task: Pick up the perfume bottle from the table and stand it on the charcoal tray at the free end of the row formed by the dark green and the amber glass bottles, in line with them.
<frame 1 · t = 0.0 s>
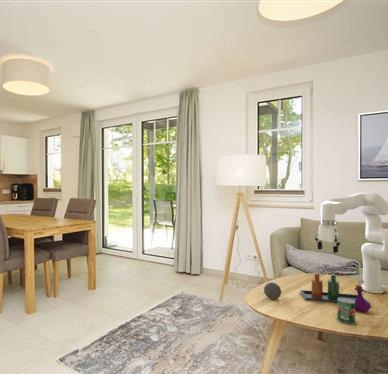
hand: (327, 250, 184), 31 cm above the table, tool pointing down, fingers open, 9 cm apart
tray: (333, 299, 188), on the table
decorative ball: (272, 298, 190), on the table
perfume bottle: (360, 311, 171), on the table
canned tomato: (346, 321, 160), on the table
amber bottle: (316, 297, 190), point 1 cm above the table, touching tray
green bottle: (333, 298, 188), point 1 cm above the table, touching tray
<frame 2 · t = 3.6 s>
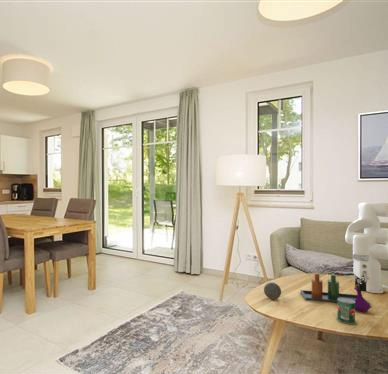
hand: (360, 288, 170), 13 cm above the table, tool pointing down, fingers closed on perfume bottle, 5 cm apart
perfume bottle: (360, 311, 171), on the table, touching gripper
everything else where it was.
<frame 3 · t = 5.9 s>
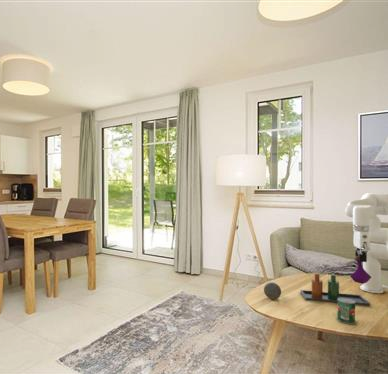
hand: (360, 259, 170), 29 cm above the table, tool pointing down, fingers closed on perfume bottle, 5 cm apart
perfume bottle: (360, 282, 171), point 16 cm above the table, touching gripper
everything else where it was.
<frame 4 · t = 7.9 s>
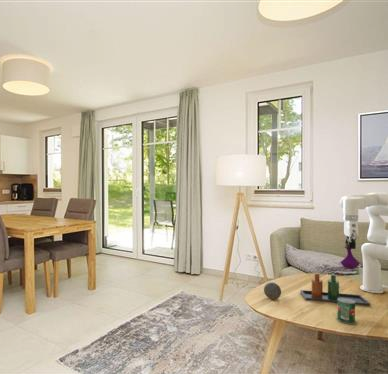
hand: (350, 247, 184), 33 cm above the table, tool pointing down, fingers closed on perfume bottle, 4 cm apart
perfume bottle: (350, 268, 185), point 20 cm above the table, touching gripper
everything else where it was.
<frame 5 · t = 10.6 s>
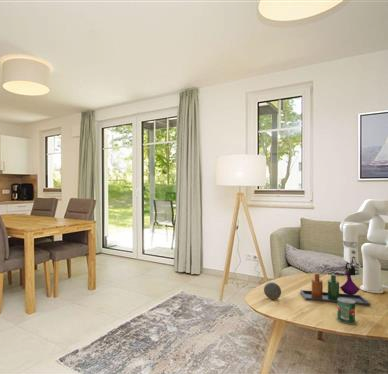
hand: (350, 273, 185), 17 cm above the table, tool pointing down, fingers closed on perfume bottle, 4 cm apart
perfume bottle: (349, 293, 186), point 4 cm above the table, touching gripper
everything else where it was.
when the fingers open (13 cm above the table, at t = 12.3 s): perfume bottle stays where it is, resting on tray.
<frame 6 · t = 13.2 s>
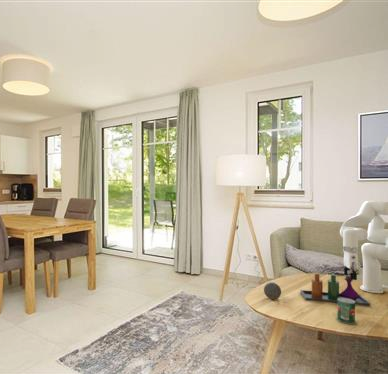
hand: (350, 277, 185), 15 cm above the table, tool pointing down, fingers open, 9 cm apart
perfume bottle: (349, 300, 186), resting on tray
everything else where it was.
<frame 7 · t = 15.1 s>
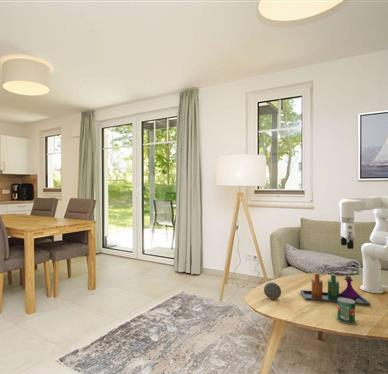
hand: (347, 246, 191), 32 cm above the table, tool pointing down, fingers open, 9 cm apart
nothing on the table moved.
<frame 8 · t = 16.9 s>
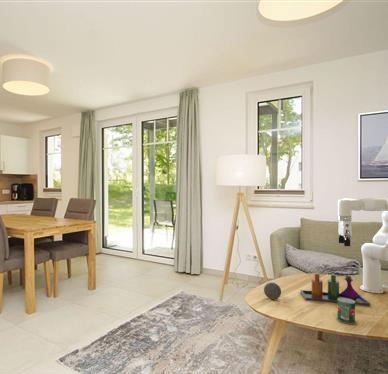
hand: (344, 244, 197), 32 cm above the table, tool pointing down, fingers open, 9 cm apart
nothing on the table moved.
at the end: perfume bottle 0.6 cm from the target spot, resting on tray; perfume bottle tilted 0°; green bottle moved 0.0 cm from its start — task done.
